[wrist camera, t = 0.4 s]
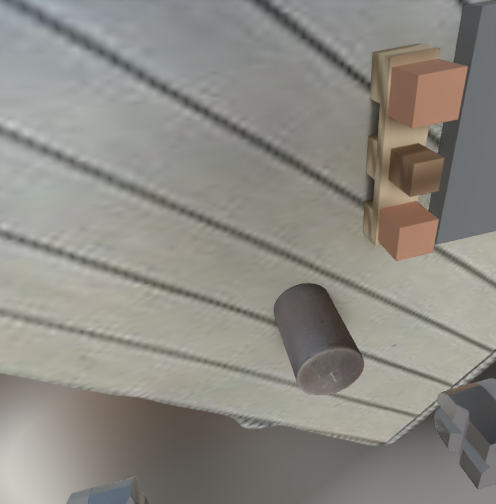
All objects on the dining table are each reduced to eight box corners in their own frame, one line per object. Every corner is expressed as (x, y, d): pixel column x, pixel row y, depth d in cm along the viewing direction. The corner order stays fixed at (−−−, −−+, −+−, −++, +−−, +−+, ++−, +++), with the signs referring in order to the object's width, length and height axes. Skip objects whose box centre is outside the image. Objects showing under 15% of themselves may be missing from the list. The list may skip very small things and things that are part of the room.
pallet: (372, 52, 42) (417, 64, 35) (418, 43, 42) (472, 53, 35) (362, 231, 56) (393, 267, 49) (397, 224, 56) (433, 258, 49)
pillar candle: (340, 292, 62) (383, 364, 50) (308, 333, 66) (341, 408, 54) (292, 275, 58) (326, 348, 46) (261, 319, 62) (285, 398, 50)
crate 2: (380, 208, 49) (400, 228, 45) (416, 200, 50) (438, 219, 46) (377, 240, 52) (396, 261, 48) (411, 232, 52) (432, 252, 48)
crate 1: (391, 67, 39) (418, 75, 35) (436, 58, 40) (467, 65, 36) (387, 115, 42) (412, 128, 38) (429, 107, 43) (457, 119, 39)
